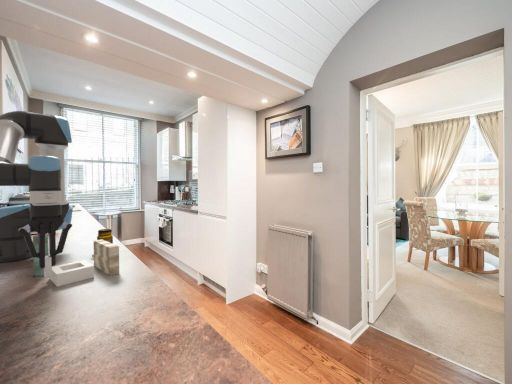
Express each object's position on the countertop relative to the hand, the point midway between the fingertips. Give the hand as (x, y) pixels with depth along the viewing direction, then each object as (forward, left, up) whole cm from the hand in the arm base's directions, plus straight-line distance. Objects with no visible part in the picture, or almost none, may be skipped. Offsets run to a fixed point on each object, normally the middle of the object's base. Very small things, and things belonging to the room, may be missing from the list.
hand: (47, 276), depth 74 cm
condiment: (-21, +22, -3) cm, 31 cm away
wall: (-1, +17, -2) cm, 17 cm away
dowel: (-13, 0, -2) cm, 13 cm away
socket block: (0, +6, -2) cm, 7 cm away
